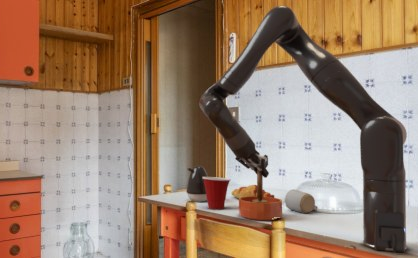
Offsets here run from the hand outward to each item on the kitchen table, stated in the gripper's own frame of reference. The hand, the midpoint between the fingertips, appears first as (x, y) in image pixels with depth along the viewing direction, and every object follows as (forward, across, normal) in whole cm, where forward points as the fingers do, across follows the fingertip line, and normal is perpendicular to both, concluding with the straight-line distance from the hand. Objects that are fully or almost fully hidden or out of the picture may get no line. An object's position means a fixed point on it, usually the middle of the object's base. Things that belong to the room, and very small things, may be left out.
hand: (263, 175), depth 141 cm
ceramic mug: (+23, -2, -3) cm, 23 cm away
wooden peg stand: (+6, 0, +9) cm, 11 cm away
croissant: (+26, +26, -5) cm, 37 cm away
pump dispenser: (+11, +36, +10) cm, 39 cm away
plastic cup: (+8, +20, +13) cm, 25 cm away
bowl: (+9, 0, +12) cm, 14 cm away
